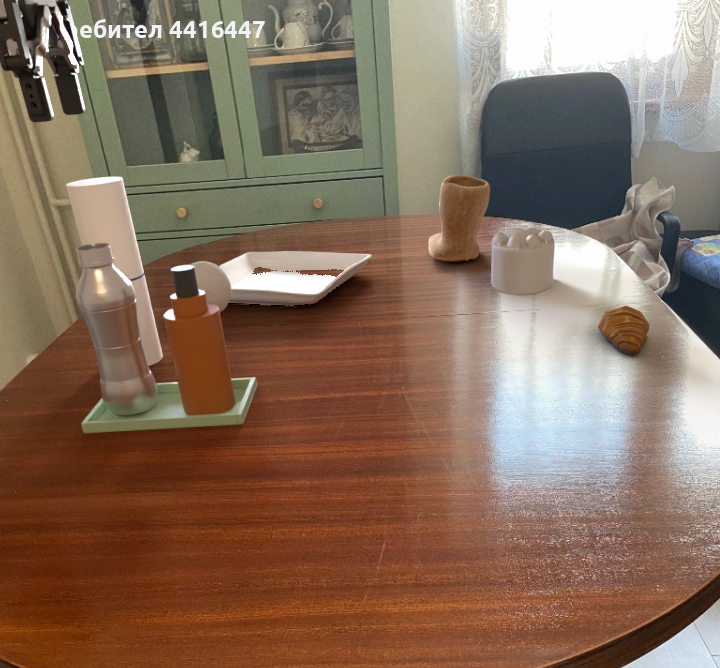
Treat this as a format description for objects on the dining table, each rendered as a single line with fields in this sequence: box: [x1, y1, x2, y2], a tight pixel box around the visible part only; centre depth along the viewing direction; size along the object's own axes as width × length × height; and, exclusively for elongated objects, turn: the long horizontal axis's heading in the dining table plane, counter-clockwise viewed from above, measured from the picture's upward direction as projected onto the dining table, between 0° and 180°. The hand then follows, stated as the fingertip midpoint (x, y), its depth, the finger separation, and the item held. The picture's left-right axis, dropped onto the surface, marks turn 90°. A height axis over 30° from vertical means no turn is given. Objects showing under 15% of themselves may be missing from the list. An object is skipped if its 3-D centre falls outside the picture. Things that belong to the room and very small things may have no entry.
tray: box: [80, 376, 258, 434], centre depth 90 cm, size 19×11×2 cm, turn 88°
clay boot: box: [427, 174, 491, 262], centre depth 142 cm, size 15×12×15 cm
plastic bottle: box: [75, 243, 157, 415], centre depth 86 cm, size 6×7×20 cm
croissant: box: [597, 305, 650, 356], centre depth 98 cm, size 14×7×5 cm, turn 174°
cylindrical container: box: [65, 176, 164, 367], centre depth 100 cm, size 7×7×25 cm
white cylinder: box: [189, 260, 231, 313], centre depth 98 cm, size 7×7×15 cm
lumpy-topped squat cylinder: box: [490, 227, 556, 296], centre depth 124 cm, size 10×13×9 cm
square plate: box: [218, 250, 373, 307], centre depth 134 cm, size 27×27×4 cm
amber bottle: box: [162, 264, 236, 415], centre depth 86 cm, size 6×6×17 cm
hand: (59, 117), depth 75 cm, fingers open, 8 cm apart
